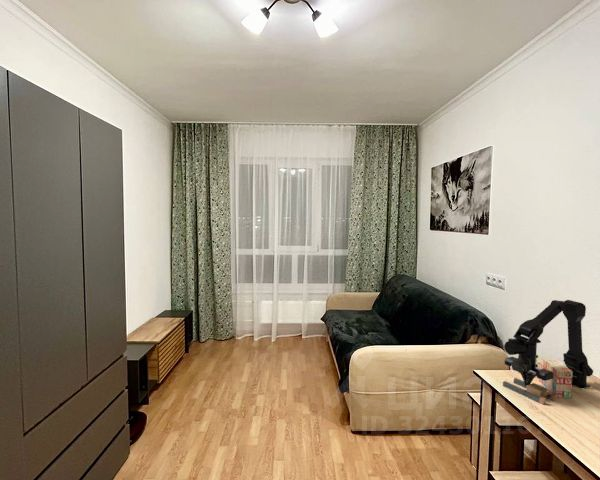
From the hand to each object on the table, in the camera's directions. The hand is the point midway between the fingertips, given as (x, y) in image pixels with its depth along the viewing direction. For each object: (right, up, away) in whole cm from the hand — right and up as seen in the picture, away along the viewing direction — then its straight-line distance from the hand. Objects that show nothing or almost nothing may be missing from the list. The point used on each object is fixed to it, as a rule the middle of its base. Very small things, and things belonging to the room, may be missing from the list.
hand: (527, 386), depth 158 cm
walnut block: (+2, -3, -3) cm, 5 cm away
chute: (0, -3, 0) cm, 3 cm away
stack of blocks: (+14, -2, +5) cm, 16 cm away
